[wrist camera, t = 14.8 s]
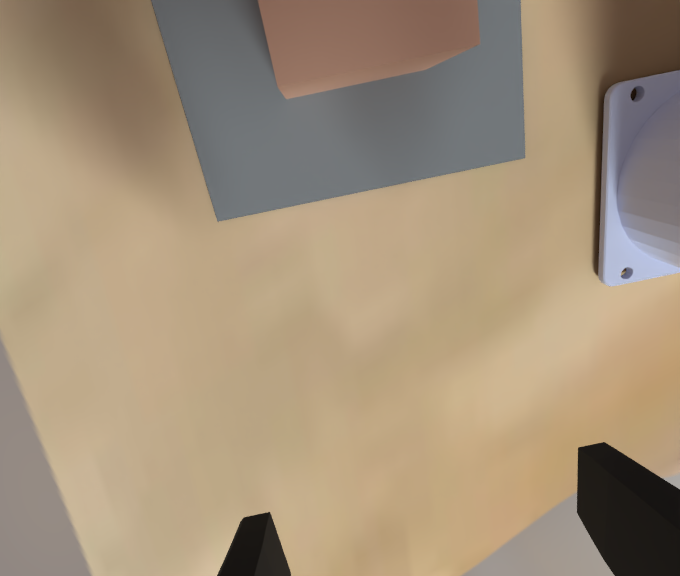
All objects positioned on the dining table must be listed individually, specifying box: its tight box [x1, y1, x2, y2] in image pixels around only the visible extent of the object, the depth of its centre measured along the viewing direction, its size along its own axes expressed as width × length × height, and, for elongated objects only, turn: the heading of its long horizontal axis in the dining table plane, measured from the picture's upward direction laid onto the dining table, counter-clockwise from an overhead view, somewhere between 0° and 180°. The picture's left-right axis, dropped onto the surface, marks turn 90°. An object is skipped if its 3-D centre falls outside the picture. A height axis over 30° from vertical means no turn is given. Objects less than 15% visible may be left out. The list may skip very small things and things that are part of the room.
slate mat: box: [151, 0, 525, 221], centre depth 14 cm, size 12×12×1 cm
